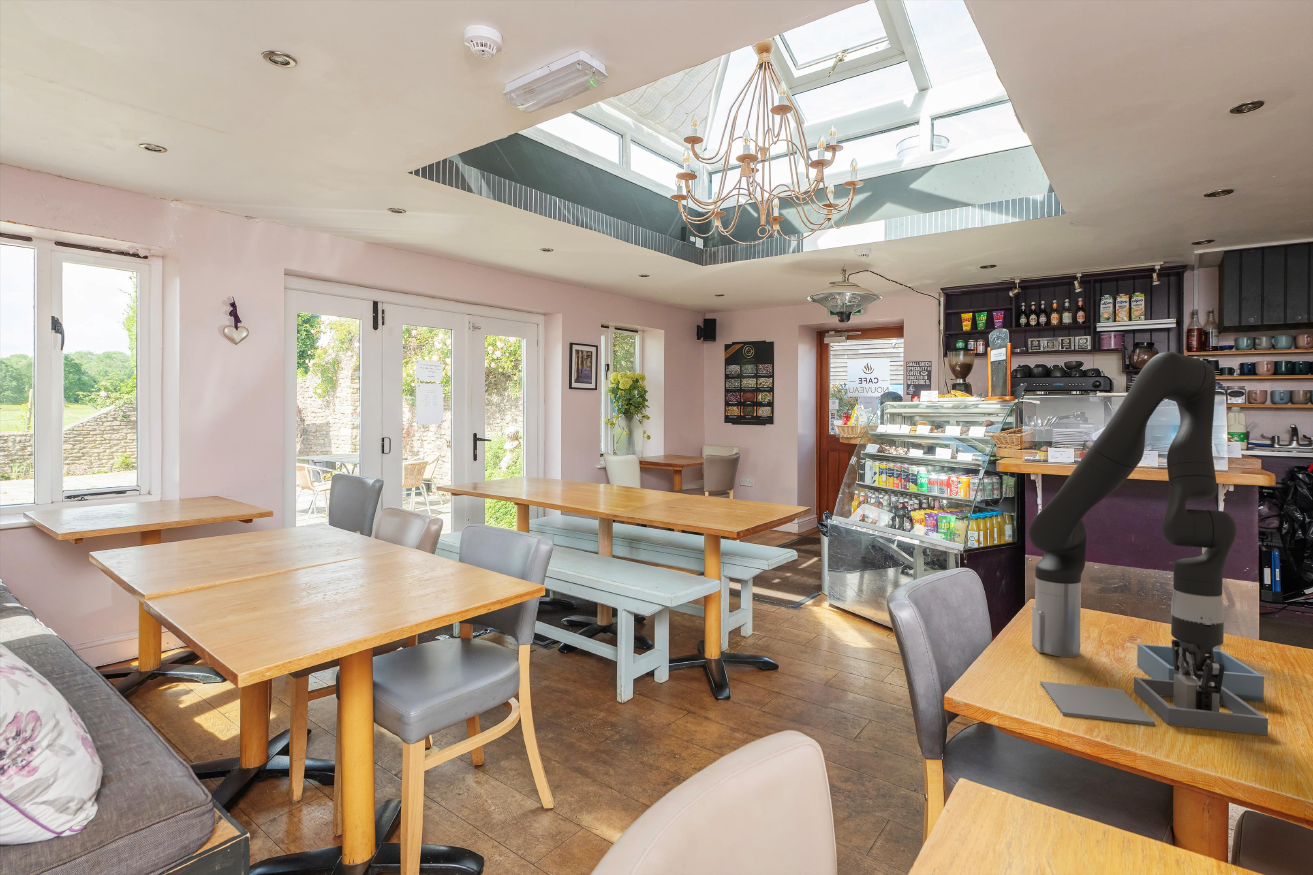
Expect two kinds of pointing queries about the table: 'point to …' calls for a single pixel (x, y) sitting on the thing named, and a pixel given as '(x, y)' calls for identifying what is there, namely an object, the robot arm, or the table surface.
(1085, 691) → the bin lid
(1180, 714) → the gray square frame
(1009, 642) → the table surface
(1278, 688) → the table surface
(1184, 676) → the stone block
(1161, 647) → the slate blue bin
